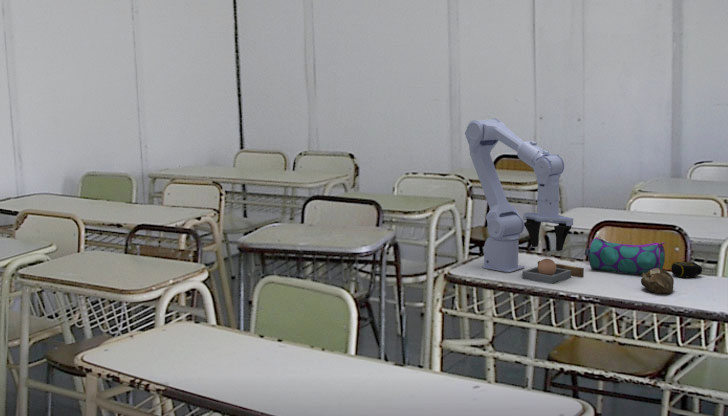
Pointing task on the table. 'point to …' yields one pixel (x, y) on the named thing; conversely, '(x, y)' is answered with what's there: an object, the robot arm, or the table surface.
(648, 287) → the brown rock
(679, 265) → the tape measure
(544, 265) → the ball
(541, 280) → the tray
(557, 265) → the walnut rail
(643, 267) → the pencil case
